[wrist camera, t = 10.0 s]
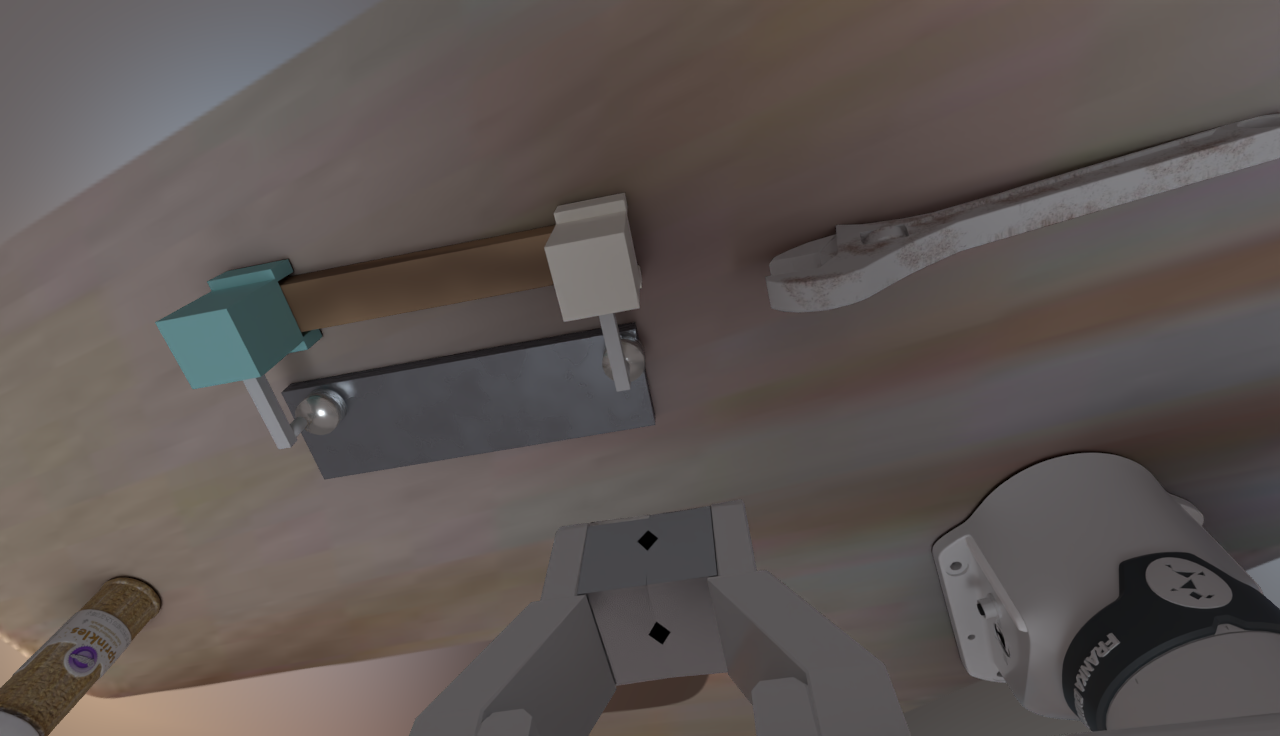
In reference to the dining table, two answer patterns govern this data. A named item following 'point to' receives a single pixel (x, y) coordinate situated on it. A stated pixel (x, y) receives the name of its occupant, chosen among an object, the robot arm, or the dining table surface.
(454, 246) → the rail
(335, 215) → the dining table surface
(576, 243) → the fixed leg
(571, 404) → the bolt plate
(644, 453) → the dining table surface
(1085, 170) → the wrench
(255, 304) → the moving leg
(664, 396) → the dining table surface
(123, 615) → the sprinkles bottle
